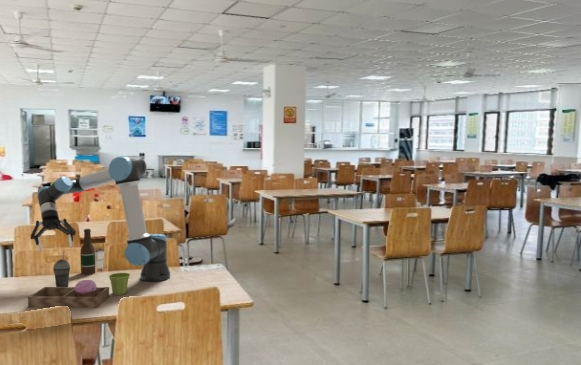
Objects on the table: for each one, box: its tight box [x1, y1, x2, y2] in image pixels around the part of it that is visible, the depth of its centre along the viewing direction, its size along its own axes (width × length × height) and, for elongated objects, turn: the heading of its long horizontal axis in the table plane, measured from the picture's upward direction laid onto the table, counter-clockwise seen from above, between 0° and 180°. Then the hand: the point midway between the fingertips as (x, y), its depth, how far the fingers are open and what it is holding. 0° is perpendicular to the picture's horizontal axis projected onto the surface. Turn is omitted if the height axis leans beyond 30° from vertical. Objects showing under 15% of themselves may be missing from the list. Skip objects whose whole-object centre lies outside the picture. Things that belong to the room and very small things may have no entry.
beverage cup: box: [53, 250, 71, 287], centre depth 229 cm, size 7×7×20 cm
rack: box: [27, 286, 110, 309], centre depth 216 cm, size 29×15×4 cm, turn 91°
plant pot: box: [108, 272, 131, 296], centre depth 229 cm, size 9×9×9 cm
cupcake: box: [74, 279, 98, 297], centre depth 216 cm, size 9×9×10 cm
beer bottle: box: [79, 228, 96, 276], centre depth 263 cm, size 8×8×24 cm
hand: (56, 248), depth 236 cm, fingers open, 13 cm apart
